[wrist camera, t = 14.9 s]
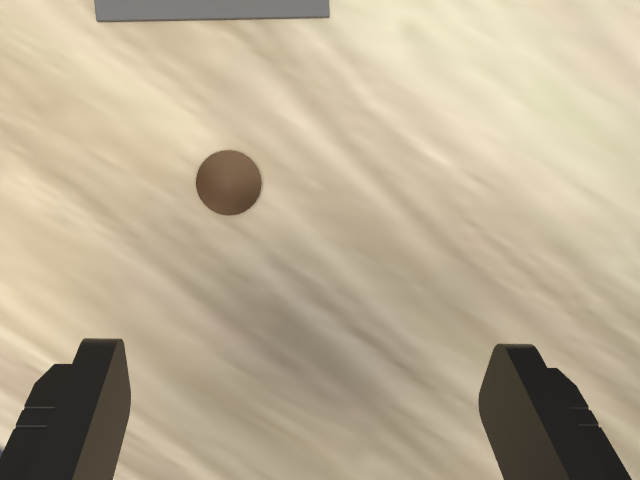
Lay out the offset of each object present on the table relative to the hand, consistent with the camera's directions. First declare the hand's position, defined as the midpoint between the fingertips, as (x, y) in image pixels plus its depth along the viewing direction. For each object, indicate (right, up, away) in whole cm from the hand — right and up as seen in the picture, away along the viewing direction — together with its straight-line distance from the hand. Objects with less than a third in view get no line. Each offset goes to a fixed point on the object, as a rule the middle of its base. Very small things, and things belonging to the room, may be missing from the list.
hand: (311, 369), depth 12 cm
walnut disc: (-6, +6, +24) cm, 26 cm away
